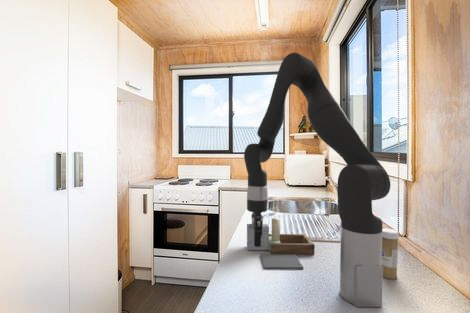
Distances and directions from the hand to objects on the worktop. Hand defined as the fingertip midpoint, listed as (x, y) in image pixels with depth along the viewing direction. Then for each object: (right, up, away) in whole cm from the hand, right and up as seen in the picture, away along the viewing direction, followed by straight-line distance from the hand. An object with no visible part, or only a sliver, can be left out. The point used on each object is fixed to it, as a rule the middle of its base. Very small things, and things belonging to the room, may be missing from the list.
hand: (256, 243), depth 97 cm
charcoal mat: (+7, -2, -12) cm, 14 cm away
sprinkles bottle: (+37, -3, -20) cm, 42 cm away
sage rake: (+6, -2, 0) cm, 7 cm away
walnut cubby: (+12, -2, +1) cm, 12 cm away
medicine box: (0, -2, 0) cm, 2 cm away
